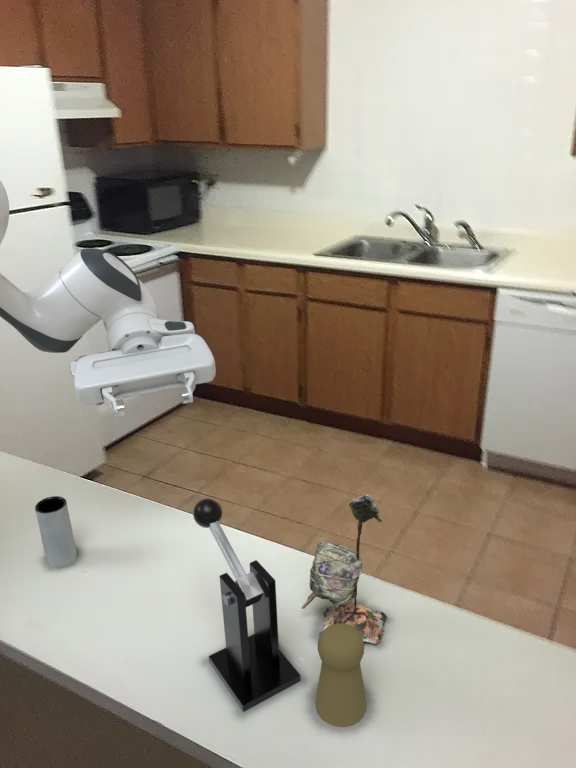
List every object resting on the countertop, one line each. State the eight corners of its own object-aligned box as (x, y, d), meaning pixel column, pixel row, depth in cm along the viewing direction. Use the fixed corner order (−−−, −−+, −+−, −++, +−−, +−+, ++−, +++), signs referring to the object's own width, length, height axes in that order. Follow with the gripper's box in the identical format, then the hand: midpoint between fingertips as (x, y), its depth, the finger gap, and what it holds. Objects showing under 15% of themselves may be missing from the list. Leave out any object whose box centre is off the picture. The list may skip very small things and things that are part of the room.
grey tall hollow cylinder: (83, 555, 105) (72, 500, 101) (61, 572, 102) (49, 516, 97) (63, 547, 107) (52, 492, 103) (40, 563, 104) (28, 507, 99)
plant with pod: (318, 594, 95) (316, 474, 87) (394, 618, 91) (399, 493, 82) (293, 632, 89) (288, 506, 81) (373, 661, 84) (376, 530, 76)
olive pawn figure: (370, 690, 80) (372, 619, 75) (362, 733, 75) (363, 660, 70) (321, 680, 82) (320, 610, 77) (309, 722, 76) (307, 650, 72)
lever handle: (186, 513, 85) (190, 498, 82) (212, 504, 86) (216, 489, 84) (237, 613, 77) (242, 600, 75) (263, 600, 79) (270, 587, 77)
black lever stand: (209, 662, 85) (198, 569, 79) (263, 636, 88) (257, 545, 82) (243, 713, 78) (235, 615, 72) (300, 682, 81) (297, 586, 75)
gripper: (64, 342, 98) (73, 404, 88) (201, 320, 103) (224, 375, 93) (72, 375, 102) (81, 437, 92) (204, 352, 107) (225, 408, 97)
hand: (154, 406), depth 93 cm, fingers open, 8 cm apart
